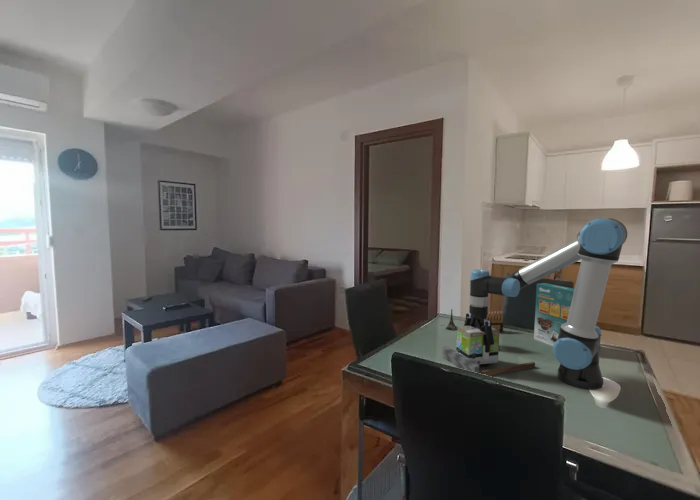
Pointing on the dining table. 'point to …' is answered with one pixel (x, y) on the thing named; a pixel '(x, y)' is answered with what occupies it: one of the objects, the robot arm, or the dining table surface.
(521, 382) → the dining table surface
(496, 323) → the ammunition clip
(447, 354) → the guide track
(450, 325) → the eiffel tower figurine
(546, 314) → the cake mix box
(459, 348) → the tea box
